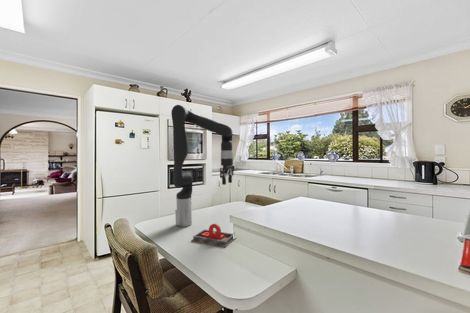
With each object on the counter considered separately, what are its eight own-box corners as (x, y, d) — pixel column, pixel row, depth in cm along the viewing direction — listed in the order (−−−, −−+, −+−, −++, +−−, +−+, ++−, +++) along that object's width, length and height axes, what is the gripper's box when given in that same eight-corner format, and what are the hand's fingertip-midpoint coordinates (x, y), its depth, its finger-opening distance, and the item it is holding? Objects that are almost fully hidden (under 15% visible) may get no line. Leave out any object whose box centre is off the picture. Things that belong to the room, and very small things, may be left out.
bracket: (224, 237, 118) (224, 222, 117) (219, 240, 114) (219, 225, 113) (206, 233, 123) (205, 219, 123) (201, 236, 119) (200, 221, 119)
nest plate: (191, 241, 115) (191, 236, 115) (204, 232, 127) (204, 228, 127) (225, 247, 107) (225, 243, 107) (236, 237, 118) (236, 233, 118)
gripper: (227, 158, 130) (227, 185, 131) (236, 157, 143) (237, 182, 144) (215, 158, 133) (216, 185, 134) (226, 157, 146) (226, 181, 147)
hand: (227, 183), depth 139 cm, fingers open, 8 cm apart
